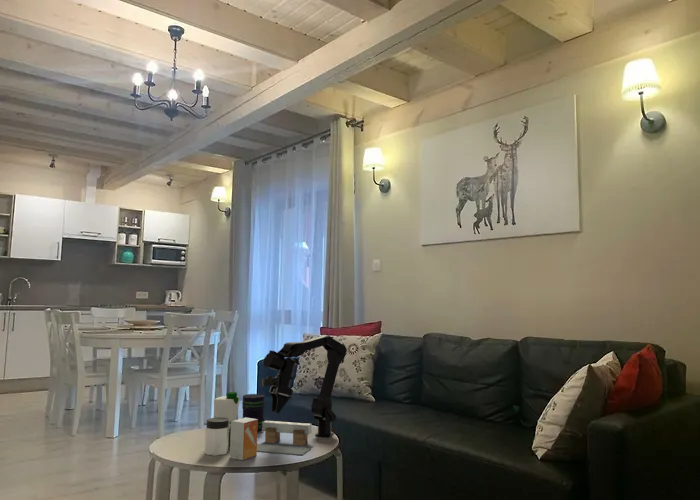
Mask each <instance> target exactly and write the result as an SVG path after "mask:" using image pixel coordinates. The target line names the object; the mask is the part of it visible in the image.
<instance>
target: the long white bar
mask: <svg viewBox="0 0 700 500" xmlns="http://www.w3.org/2000/svg"><path fill="white" fill-rule="evenodd" d="M265 428H274V429H275V432H279V433H280V434H281V433H282V434H293V430H301V431H303V434H306V435H308V436H309V435H310V434H312V423H309V422H308V423H304V422H291V421H290V422H289V421H278V420H276V421H275V420H264V422H262V432H265Z"/></svg>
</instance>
